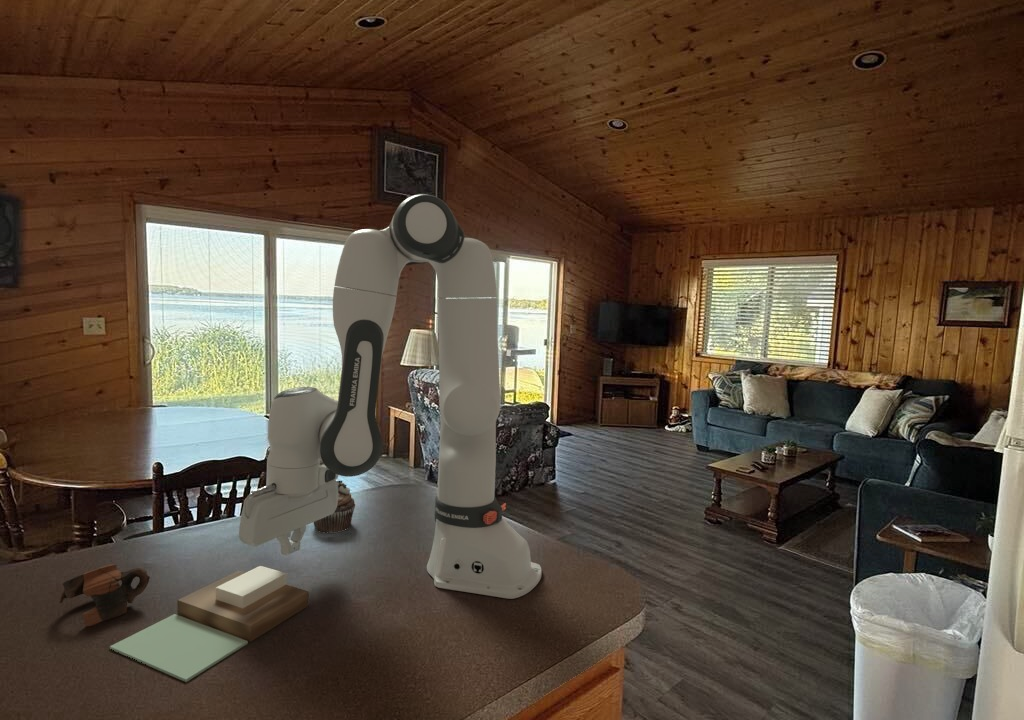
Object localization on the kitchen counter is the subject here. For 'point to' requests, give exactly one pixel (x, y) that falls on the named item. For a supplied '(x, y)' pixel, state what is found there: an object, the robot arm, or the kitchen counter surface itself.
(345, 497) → the cupcake
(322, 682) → the kitchen counter surface
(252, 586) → the cream rectangular block
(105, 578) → the pottery mug
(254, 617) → the board
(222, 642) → the mat
